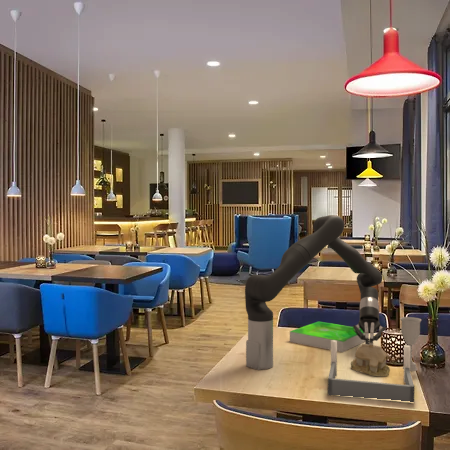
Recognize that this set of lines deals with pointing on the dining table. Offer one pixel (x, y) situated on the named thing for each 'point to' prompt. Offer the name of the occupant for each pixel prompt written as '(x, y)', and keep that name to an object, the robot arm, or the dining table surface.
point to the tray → (326, 336)
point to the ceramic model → (371, 360)
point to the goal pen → (371, 388)
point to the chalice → (410, 335)
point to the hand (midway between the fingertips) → (369, 348)
